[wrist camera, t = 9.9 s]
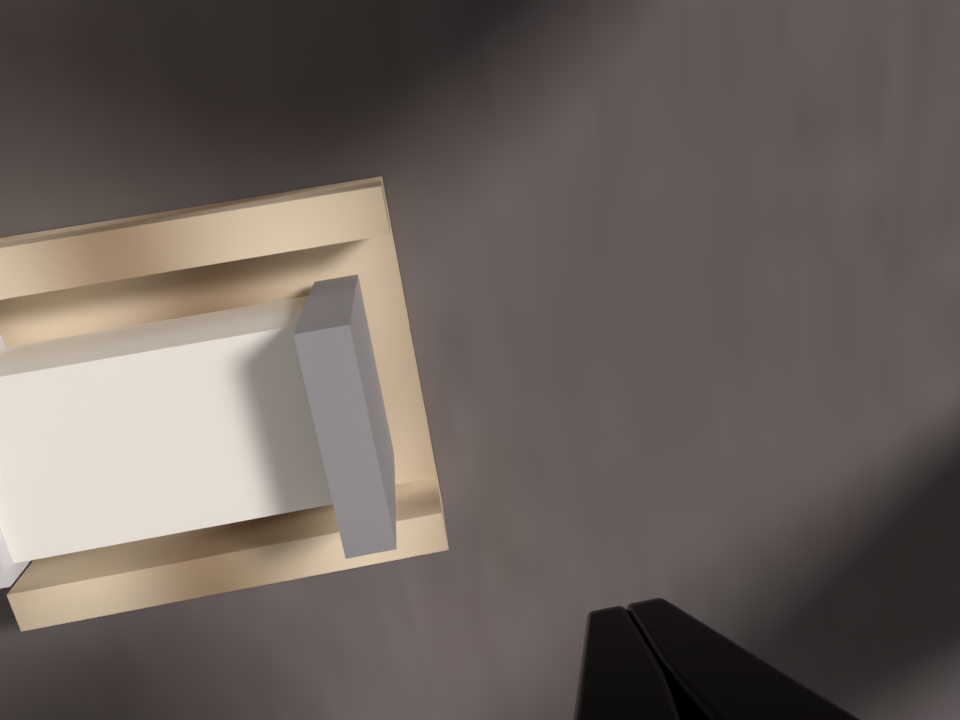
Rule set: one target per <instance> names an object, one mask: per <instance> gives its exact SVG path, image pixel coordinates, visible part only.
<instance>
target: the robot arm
mask: <svg viewBox="0 0 960 720" xmlns="http://www.w3.org/2000/svg"><path fill="white" fill-rule="evenodd" d="M574 720H860V719H858V718H857V717H855V716H854V715H852V714H850V713H849V712H847V711H845V710H844V709H842V708H841V707H839V706H837V705H836V704H834V703H832V702H831V701H829V700H828V699H826V698H824V697H823V696H821V695H819V694H818V693H816V692H815V691H813V690H811V689H810V688H808V687H806V686H805V685H803V684H802V683H800V682H798V681H797V680H795V679H793V678H792V677H790V676H789V675H787V674H785V673H784V672H782V671H780V670H779V669H777V668H775V667H774V666H772V665H771V664H769V663H767V662H766V661H764V660H762V659H761V658H759V657H758V656H756V655H754V654H753V653H751V652H749V651H748V650H746V649H745V648H743V647H741V646H740V645H738V644H736V643H735V642H733V641H732V640H730V639H728V638H727V637H725V636H723V635H722V634H720V633H719V632H717V631H715V630H714V629H712V628H710V627H709V626H707V625H706V624H704V623H702V622H701V621H699V620H697V619H696V618H694V617H693V616H691V615H689V614H688V613H686V612H684V611H683V610H681V609H679V608H678V607H676V606H675V605H673V604H671V603H670V602H668V601H666V600H664V599H661V598H656V599H651V600H646V601H641V602H636V603H631V604H629V605H628V606H627V608H626V609H625V608H624V607H621V606H616V607H611V608H606V609H601V610H595V611H592V612H590V613H589V614H588V616H587V622H586V629H585V637H584V644H583V652H582V659H581V667H580V674H579V682H578V690H577V697H576V705H575V712H574Z"/></svg>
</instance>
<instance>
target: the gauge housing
mask: <svg viewBox="0 0 960 720" xmlns="http://www.w3.org/2000/svg"><path fill="white" fill-rule="evenodd" d="M357 274H358V277H359V282H360V287H361V292H362V297H363V302H364V307H365V312H366V317H367V322H368V327H369V332H370V337H371V342H372V347H373V352H374V357H375V362H376V366H377V371H378V376H379V381H380V386H381V391H382V396H383V401H384V406H385V411H386V416H387V421H388V426H389V431H390V436H391V441H392V446H393V451H394V462H395V504H396V547H397V549H395V550H390V551H385V552H379V553H374V554H369V555H364V556H358V557H353V558H348V559H345V554H344V550H343V546H342V541H341V537H340V533H339V529H338V524H337V520H336V516H335V512H334V507H333V504H331V505H325V506H320V507H315V508H309V509H304V510H299V511H293V512H288V513H283V514H277V515H272V516H266V517H261V518H256V519H250V520H245V521H240V522H234V523H229V524H224V525H218V526H213V527H207V528H202V529H197V530H191V531H186V532H181V533H175V534H170V535H165V536H159V537H154V538H148V539H143V540H138V541H132V542H127V543H122V544H116V545H111V546H106V547H100V548H95V549H90V550H84V551H79V552H73V553H68V554H63V555H57V556H52V557H47V558H41V559H36V560H33V562H32V563H31V564H30V565H29V567H28V568H27V569H26V571H25V572H24V573H23V575H22V576H21V577H20V578H19V580H18V581H17V582H16V584H15V585H14V586H13V587H12V589H11V590H10V591H9V593H8V594H7V597H8V600H9V602H10V605H11V607H12V610H13V612H14V615H15V617H16V620H17V622H18V625H19V627H20V630H21V632H22V631H27V630H32V629H37V628H43V627H48V626H53V625H58V624H64V623H69V622H74V621H79V620H84V619H90V618H95V617H100V616H105V615H110V614H116V613H121V612H126V611H131V610H137V609H142V608H147V607H152V606H157V605H163V604H168V603H173V602H178V601H184V600H189V599H194V598H199V597H204V596H210V595H215V594H220V593H225V592H230V591H236V590H241V589H246V588H251V587H257V586H262V585H267V584H272V583H277V582H283V581H288V580H293V579H298V578H303V577H309V576H314V575H319V574H324V573H330V572H335V571H340V570H345V569H350V568H356V567H361V566H366V565H371V564H376V563H382V562H387V561H392V560H397V559H403V558H408V557H413V556H418V555H423V554H429V553H434V552H439V551H444V550H449V549H448V542H447V535H446V528H445V521H444V514H443V506H442V500H441V494H440V489H439V484H438V478H437V473H436V467H435V462H434V457H433V451H432V446H431V440H430V435H429V429H428V424H427V419H426V413H425V408H424V402H423V397H422V391H421V386H420V381H419V375H418V370H417V364H416V359H415V353H414V348H413V343H412V337H411V332H410V326H409V321H408V315H407V310H406V305H405V299H404V294H403V288H402V283H401V277H400V272H399V267H398V261H397V256H396V250H395V245H394V239H393V234H392V229H391V223H390V218H389V212H388V207H387V201H386V196H385V191H384V185H383V180H382V176H380V177H374V178H368V179H362V180H355V181H349V182H343V183H337V184H331V185H325V186H318V187H312V188H306V189H300V190H294V191H288V192H281V193H275V194H269V195H263V196H257V197H251V198H244V199H238V200H232V201H226V202H220V203H214V204H207V205H201V206H195V207H189V208H183V209H177V210H170V211H164V212H158V213H152V214H146V215H140V216H133V217H127V218H121V219H115V220H109V221H102V222H96V223H90V224H84V225H78V226H72V227H65V228H59V229H53V230H47V231H41V232H35V233H28V234H22V235H16V236H10V237H4V238H0V335H2V337H3V340H4V343H5V346H6V347H11V346H17V345H23V344H29V343H35V342H41V341H46V340H52V339H58V338H64V337H70V336H76V335H82V334H88V333H93V332H99V331H105V330H111V329H117V328H123V327H129V326H135V325H140V324H146V323H152V322H158V321H164V320H170V319H176V318H181V317H187V316H193V315H199V314H205V313H211V312H217V311H223V310H228V309H234V308H240V307H246V306H252V305H258V304H264V303H270V302H275V301H281V300H287V299H293V298H299V297H305V296H309V294H310V291H311V289H312V286H313V284H314V282H316V281H322V280H327V279H333V278H339V277H345V276H351V275H357Z"/></svg>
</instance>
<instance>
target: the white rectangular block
mask: <svg viewBox="0 0 960 720" xmlns="http://www.w3.org/2000/svg"><path fill="white" fill-rule="evenodd" d="M331 504H333V507H334V512H335V516H336V520H337V524H338V529H339V533H340V537H341V541H342V546H343V550H344V554H345V559H348V558H353V557H358V556H364V555H369V554H374V553H379V552H385V551H390V550H395V549H397V547H396V504H395V462H394V451H393V446H392V441H391V436H390V431H389V426H388V421H387V416H386V411H385V406H384V401H383V396H382V391H381V386H380V381H379V376H378V371H377V366H376V362H375V357H374V352H373V347H372V342H371V337H370V332H369V327H368V322H367V317H366V312H365V307H364V302H363V297H362V292H361V287H360V282H359V277H358V274H357V275H351V276H345V277H339V278H333V279H327V280H322V281H316V282H314V284H313V286H312V289H311V291H310V294H309V296H305V297H299V298H293V299H287V300H281V301H275V302H270V303H264V304H258V305H252V306H246V307H240V308H234V309H228V310H223V311H217V312H211V313H205V314H199V315H193V316H187V317H181V318H176V319H170V320H164V321H158V322H152V323H146V324H140V325H135V326H129V327H123V328H117V329H111V330H105V331H99V332H93V333H88V334H82V335H76V336H70V337H64V338H58V339H52V340H46V341H41V342H35V343H29V344H23V345H17V346H11V347H6V346H5V343H4V340H3V337H2V335H0V589H1V588H6V587H11V585H12V584H13V583H14V582H15V580H16V579H17V578H18V576H19V575H20V574H21V573H22V571H23V570H24V569H25V567H26V566H27V565H28V564H29V562H30V561H31V560H36V559H41V558H47V557H52V556H57V555H63V554H68V553H73V552H79V551H84V550H90V549H95V548H100V547H106V546H111V545H116V544H122V543H127V542H132V541H138V540H143V539H148V538H154V537H159V536H165V535H170V534H175V533H181V532H186V531H191V530H197V529H202V528H207V527H213V526H218V525H224V524H229V523H234V522H240V521H245V520H250V519H256V518H261V517H266V516H272V515H277V514H283V513H288V512H293V511H299V510H304V509H309V508H315V507H320V506H325V505H331Z"/></svg>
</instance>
